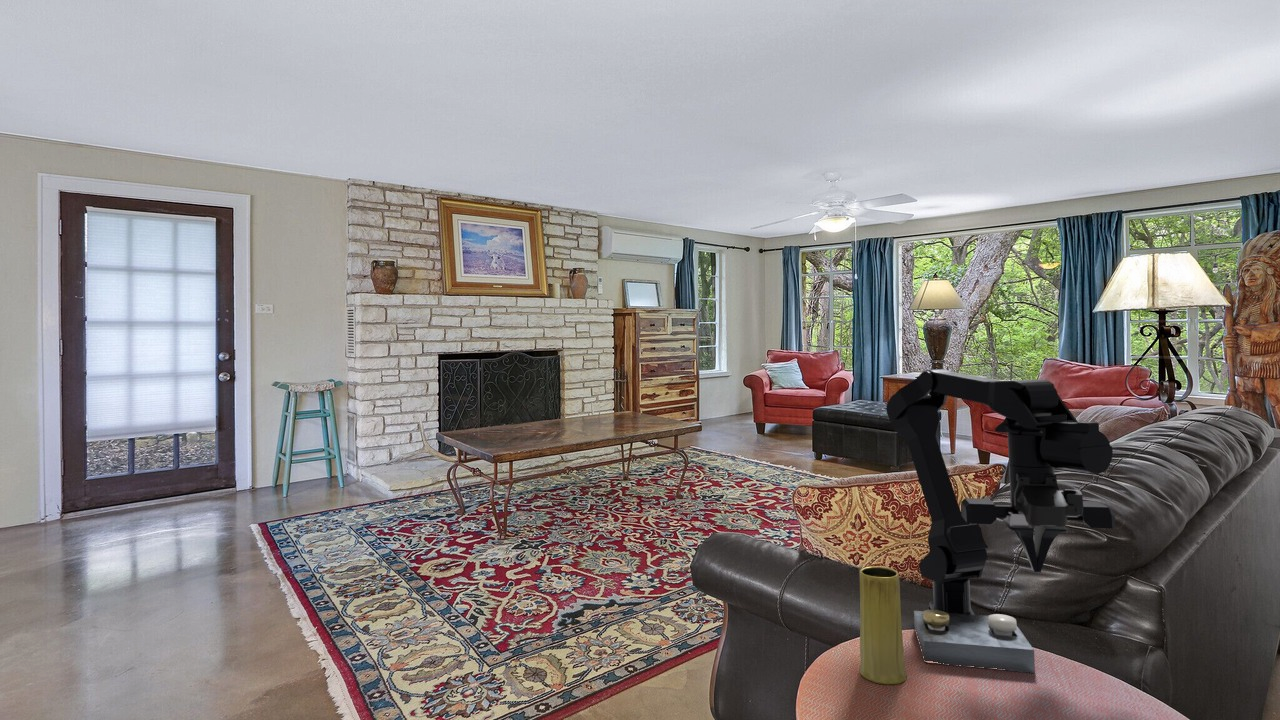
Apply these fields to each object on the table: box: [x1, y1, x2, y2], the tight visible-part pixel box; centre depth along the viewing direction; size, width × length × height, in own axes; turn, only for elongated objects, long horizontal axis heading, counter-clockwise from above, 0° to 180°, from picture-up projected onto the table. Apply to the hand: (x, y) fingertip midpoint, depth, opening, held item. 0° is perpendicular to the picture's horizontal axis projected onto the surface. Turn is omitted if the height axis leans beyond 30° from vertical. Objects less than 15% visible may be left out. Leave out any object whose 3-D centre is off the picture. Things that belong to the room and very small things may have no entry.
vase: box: [859, 565, 907, 686], centre depth 90 cm, size 6×6×14 cm
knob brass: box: [922, 609, 949, 631], centre depth 98 cm, size 4×4×5 cm
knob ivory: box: [987, 613, 1018, 636], centre depth 95 cm, size 4×4×5 cm
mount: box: [913, 610, 1036, 674], centre depth 96 cm, size 12×14×3 cm
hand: (1036, 571), depth 95 cm, fingers closed
